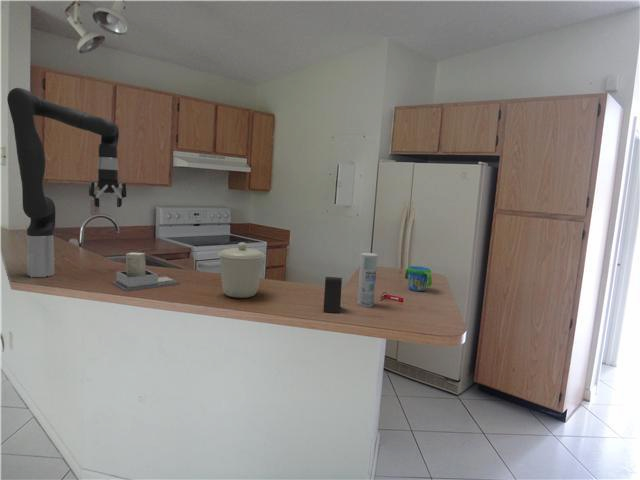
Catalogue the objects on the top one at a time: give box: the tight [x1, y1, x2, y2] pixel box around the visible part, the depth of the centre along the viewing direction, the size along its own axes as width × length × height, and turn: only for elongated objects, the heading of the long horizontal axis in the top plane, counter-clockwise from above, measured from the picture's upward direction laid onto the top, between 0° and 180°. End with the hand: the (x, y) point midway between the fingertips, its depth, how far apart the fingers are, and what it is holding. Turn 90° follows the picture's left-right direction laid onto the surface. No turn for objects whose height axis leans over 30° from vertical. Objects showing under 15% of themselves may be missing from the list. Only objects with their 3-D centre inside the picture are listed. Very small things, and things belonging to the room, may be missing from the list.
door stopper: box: [323, 276, 343, 314], centre depth 156 cm, size 9×6×12 cm, turn 179°
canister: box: [217, 241, 266, 299], centre depth 168 cm, size 18×18×21 cm
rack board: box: [112, 269, 181, 292], centre depth 176 cm, size 22×14×5 cm, turn 135°
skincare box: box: [125, 251, 147, 277], centre depth 172 cm, size 6×4×12 cm
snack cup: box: [404, 265, 433, 293], centre depth 195 cm, size 16×10×10 cm
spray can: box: [357, 252, 379, 308], centre depth 165 cm, size 6×6×20 cm
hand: (108, 207), depth 181 cm, fingers open, 8 cm apart
